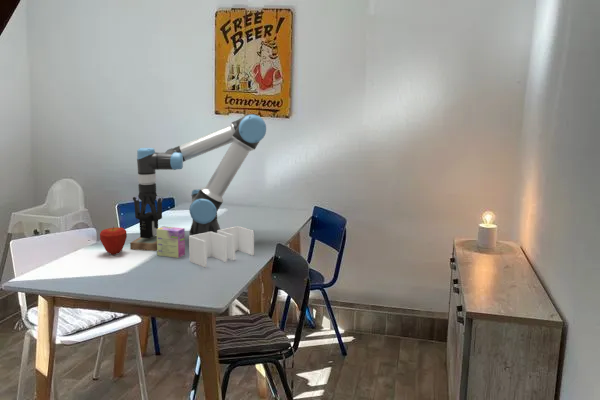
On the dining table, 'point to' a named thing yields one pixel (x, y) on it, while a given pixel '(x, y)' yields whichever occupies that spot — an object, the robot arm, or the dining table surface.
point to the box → (171, 242)
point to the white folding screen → (220, 244)
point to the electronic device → (146, 225)
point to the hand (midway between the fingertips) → (149, 234)
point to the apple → (113, 239)
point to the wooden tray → (144, 244)
